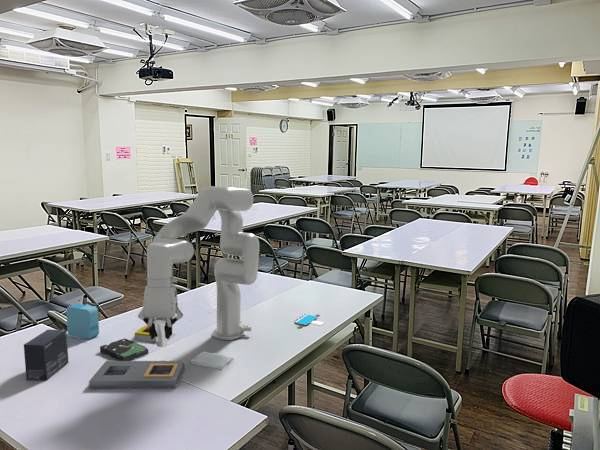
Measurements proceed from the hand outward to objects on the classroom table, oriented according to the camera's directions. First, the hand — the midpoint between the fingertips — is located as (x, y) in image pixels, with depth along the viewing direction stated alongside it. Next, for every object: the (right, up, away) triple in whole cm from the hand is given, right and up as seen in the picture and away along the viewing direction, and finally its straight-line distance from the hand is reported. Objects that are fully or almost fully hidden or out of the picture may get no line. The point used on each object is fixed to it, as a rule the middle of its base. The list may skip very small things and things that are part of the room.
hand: (160, 336), depth 143 cm
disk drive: (-20, -11, +20) cm, 30 cm away
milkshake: (0, -3, 0) cm, 3 cm away
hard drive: (+14, -13, +15) cm, 24 cm away
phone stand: (+49, -8, +57) cm, 76 cm away
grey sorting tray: (-7, -14, +1) cm, 15 cm away
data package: (-42, -8, +35) cm, 55 cm away
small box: (-39, -13, +4) cm, 41 cm away
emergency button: (-14, -9, +36) cm, 39 cm away
